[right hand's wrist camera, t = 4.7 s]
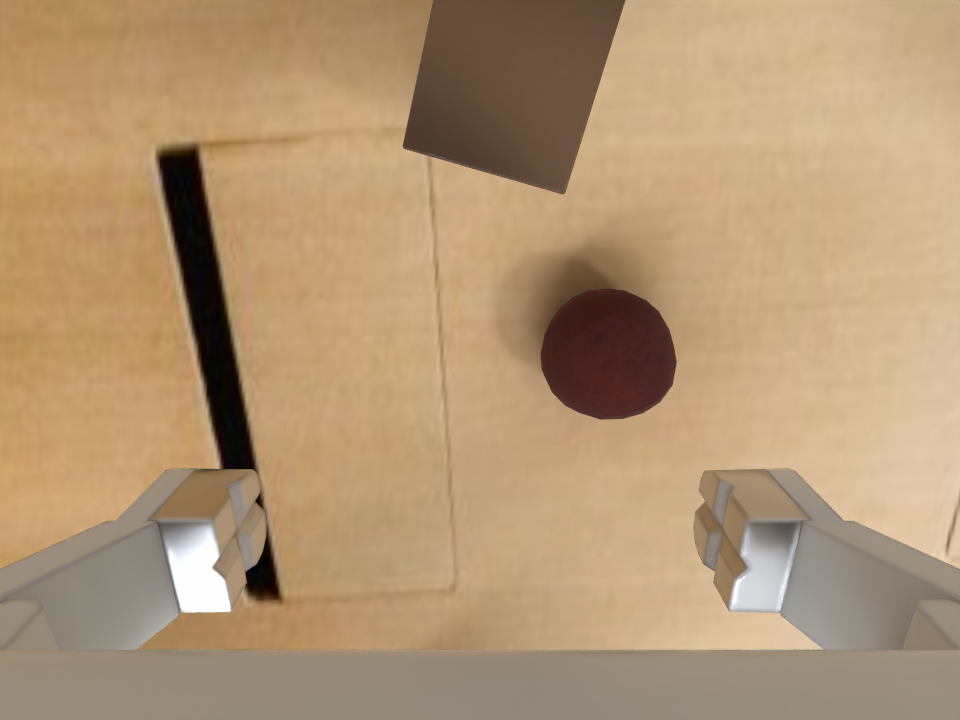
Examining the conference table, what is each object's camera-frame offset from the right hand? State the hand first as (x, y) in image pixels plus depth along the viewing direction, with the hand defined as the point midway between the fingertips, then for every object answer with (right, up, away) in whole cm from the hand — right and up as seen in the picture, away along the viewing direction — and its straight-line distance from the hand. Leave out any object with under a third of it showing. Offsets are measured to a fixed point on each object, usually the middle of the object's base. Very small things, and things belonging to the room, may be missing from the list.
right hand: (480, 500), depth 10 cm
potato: (+7, +4, +25) cm, 27 cm away
